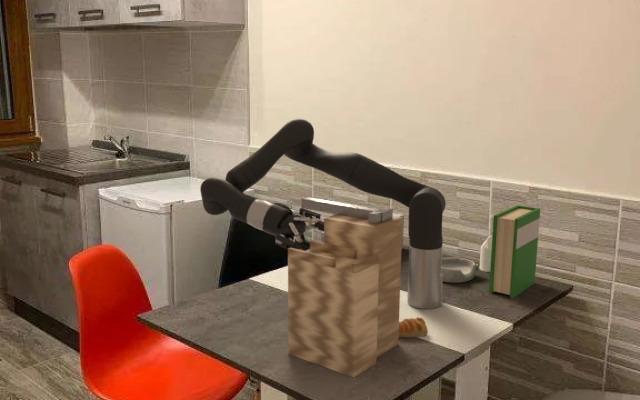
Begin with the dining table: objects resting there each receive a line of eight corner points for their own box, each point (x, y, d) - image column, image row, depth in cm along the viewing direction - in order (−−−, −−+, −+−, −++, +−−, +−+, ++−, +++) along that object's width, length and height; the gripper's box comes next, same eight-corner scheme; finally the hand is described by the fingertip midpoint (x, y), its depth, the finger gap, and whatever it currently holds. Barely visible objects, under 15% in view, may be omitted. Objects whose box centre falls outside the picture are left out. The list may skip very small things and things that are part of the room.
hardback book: (512, 298, 191) (518, 219, 186) (488, 293, 196) (493, 215, 191) (534, 282, 205) (540, 208, 200) (511, 278, 209) (517, 205, 204)
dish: (480, 275, 212) (481, 260, 211) (466, 287, 201) (466, 272, 200) (439, 267, 220) (439, 253, 219) (422, 279, 209) (423, 264, 208)
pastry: (396, 341, 162) (397, 327, 162) (384, 331, 169) (385, 317, 168) (429, 336, 166) (430, 322, 165) (417, 326, 172) (417, 312, 171)
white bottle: (487, 231, 219) (502, 234, 216) (485, 265, 222) (500, 269, 218) (478, 234, 215) (493, 238, 211) (476, 269, 218) (491, 273, 214)
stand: (288, 353, 155) (287, 223, 148) (341, 326, 171) (342, 207, 164) (353, 377, 143) (356, 237, 137) (403, 345, 159) (407, 218, 153)
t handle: (295, 209, 161) (295, 200, 161) (313, 204, 167) (313, 195, 166) (376, 224, 147) (376, 214, 146) (393, 219, 152) (393, 209, 152)
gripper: (281, 213, 176) (335, 235, 171) (253, 244, 166) (310, 267, 161) (282, 191, 172) (338, 213, 167) (254, 221, 161) (312, 244, 156)
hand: (324, 239), depth 164 cm, fingers open, 8 cm apart
